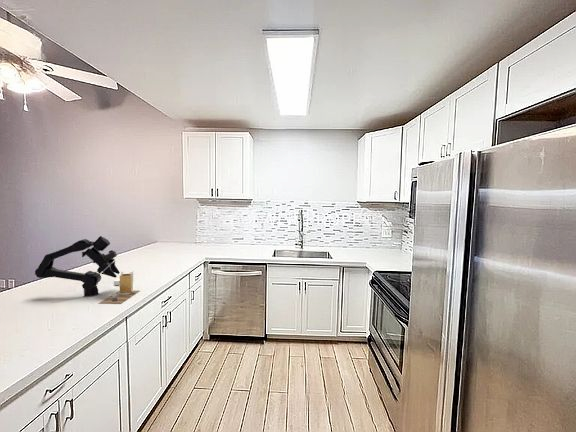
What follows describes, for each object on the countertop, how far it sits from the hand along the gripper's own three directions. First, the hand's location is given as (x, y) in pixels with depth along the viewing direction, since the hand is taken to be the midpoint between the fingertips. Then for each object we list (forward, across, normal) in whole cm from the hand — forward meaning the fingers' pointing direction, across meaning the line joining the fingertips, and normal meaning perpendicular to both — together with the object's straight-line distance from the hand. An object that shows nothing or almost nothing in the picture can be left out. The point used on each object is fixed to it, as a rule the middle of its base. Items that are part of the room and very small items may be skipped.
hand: (117, 275), depth 202 cm
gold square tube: (+10, 0, +4) cm, 11 cm away
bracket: (+8, +30, +10) cm, 33 cm away
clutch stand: (+11, -7, +7) cm, 14 cm away
